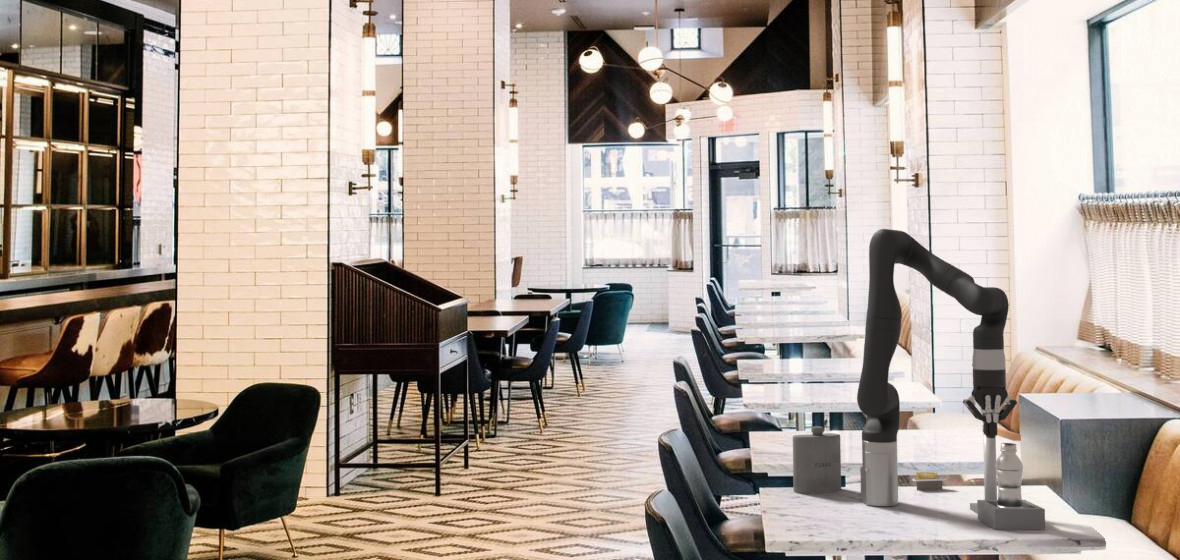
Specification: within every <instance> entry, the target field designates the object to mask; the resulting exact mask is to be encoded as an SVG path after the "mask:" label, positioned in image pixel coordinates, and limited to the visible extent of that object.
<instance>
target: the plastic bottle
mask: <svg viewBox="0 0 1180 560" xmlns="http://www.w3.org/2000/svg"><path fill="white" fill-rule="evenodd" d="M999 450H1000V452H1001V454H1000V455H999V456H998V457H997V458H996V464H995V467H996V473H997V500H998V504H997V507H998V508H1023V506H1022V500H1023V499H1022V488H1021V487H1022V479H1023V472H1024V471H1023V470H1024V466H1023V465H1024V464H1023V461H1021V459H1020V457H1019V456H1018V455H1017V452H1018V449H1017V444H1016V443H1012V442H1001V443H1000V449H999Z"/></svg>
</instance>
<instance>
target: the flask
mask: <svg viewBox="0 0 1180 560" xmlns="http://www.w3.org/2000/svg"><path fill="white" fill-rule="evenodd" d="M810 429H811V430H810V431H811V433H812V434H795V435H793V436H792V475H793V476H792V478H793V479H792V482H793V488H792V489H793V493H796V494H801V495H802V494H803V495H813V494H812V493H818V494H828V493H836V492H840V491H842V466H841V465H842V463H841V462H842V460H841V457H842V456H841V454H842V453H841V435H840V434H839V433H833V432H832V433H831V432H830V433H829V432H828V433H825V429H824V427H823V426H819V425H816V426H812V427H811V428H810Z"/></svg>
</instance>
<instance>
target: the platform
mask: <svg viewBox="0 0 1180 560" xmlns="http://www.w3.org/2000/svg"><path fill="white" fill-rule="evenodd" d="M912 481H913V482H916V491H931V490H932V491H935V490H937V489H940V490H943V481H947V477H943V476H938V472H935V471H924V472H923V471H920V472H919V471H916V476H913V477H912Z"/></svg>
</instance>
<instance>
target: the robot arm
mask: <svg viewBox="0 0 1180 560" xmlns="http://www.w3.org/2000/svg"><path fill="white" fill-rule="evenodd" d="M896 264H897V265H898V264H899V265H904V266H906V267H908V268H911V269H913V270H914V271H916V272H919V273H920V274H921V275H922V276H924V278H926V280H927V281H928V282H929V283H930V284H931V285H932V286H933V287H935V288H936V289H938V290H940V291H942V292H943V293H944V294H947V295H948V296H949V297H951V298H954V300H956V301H957V303H959V304H960V305H961V307H963V308H964V309H966V310H967V311H968V312H970V313H972V314H973V315H977V316H981V317H980V323H979V325H976V326H975V327H974V328H973V330H972V342H973V343H972V344H973V346H972V348H973V349H972V351H973V352H972V357H971V358H972V359H971V360H972V363H971V366H972V386H973V388H972V391H971V396H969V397H968V398H967V399H963V401H962V404H963V405H964V406H965V408H966V409H968V411H969V412H970V413H971V414H972V416H973V417H974V418H975V419H976V420H978V421H981V422H982V423H983V424H982V428H983V427H984V432H983V433H984V435H986V437H987V438H995V436H998V435H997V427H998V424H999V423H998V422H1001V421H1005V420H1006V419H1007V418H1008V416H1009V415H1010V414H1011V412H1012V411H1013V409H1014V408H1015V407H1016V405H1017V404H1018V401H1017V400H1016V399H1013V398H1012V397H1010V396H1009V393H1008V390H1007V389H1006V388H1007V374H1006V373H1007V370H1006V369H1007V368H1006V355H1005V345H1004V344H1005V343H1004V342H1005V341H1004V339H1005V338H1004V331H1005V327H1006V325H1007V319H1008V314H1009V309H1010V308H1009V298H1008V295H1007V294H1006V292H1005V291H1004V290H1003V289H1001V288H999V287H994V286H991V287H990V286H986V287H985V286H982V285H980V284H977V283H976V282H975V279H974V277H972V276H971V275H970V274H969V273H967V272H966V271H964V270H962V269H960V268H958V267H956V266H954V265H953V264H951V263H949V262H947V261H945V260H944V259H942V258H940V257H938V256H937V255H935V254H934V253H933V252H932V251H930V250H928V249H927V248H926V247H925V246H923V245H922V244H921V243H920V242H918V241H917V240H916V239H915V238H914V237H912V236H911V235H910V234H909V233H908V232H905V231H903V230H898V229H889V228H882V229H878V230H877V231H876V232H874V233H873V234H872V236H871V238H870V241H869V248H868V267H869V268H868V269H869V271H868V272H869V279H868V280H869V282H868V283H869V284H868V296H867V297H868V298H867V310H866V317H865V328H864V329H865V332H864V345H863V360H862V366H861V367H862V368H861V373H860V379H859V383H858V388H857V394H856V395H857V396H856V402H857V406H858V408H859V410H860V412H862V414H864V415H865V416H866V421H865V425H864V426H863V428H862V430H861V456H862V457H861V459H862V465H861V466H860V470H859V471H860V501H861V502H862V503H864V504H865V505H866V506H873V507H874V506H875V507H894V506H897V505H899V482H898V481H899V480H898V479H899V474H898V433H899V429H900V413H901V412H900V407H901V405H900V396H899V393H898V390H897V389H896V388H895V386H894V385H893V384H892V383H890V382H889V372H890V365H891V361H892V360H893V357H894V355H895V352H896V349H897V347H898V344H899V341H900V338H901V337H900V336H901V330H902V319H903V314H902V313H903V311H902V307H901V303H900V300H899V298H898V295H897V291H896V287H895V283H894V273H895V265H896ZM976 403H977V405H978V406H979V407H980V411H979V408H977V407H976ZM1003 404H1004V405H1003ZM1002 405H1003V407H1002Z"/></svg>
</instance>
